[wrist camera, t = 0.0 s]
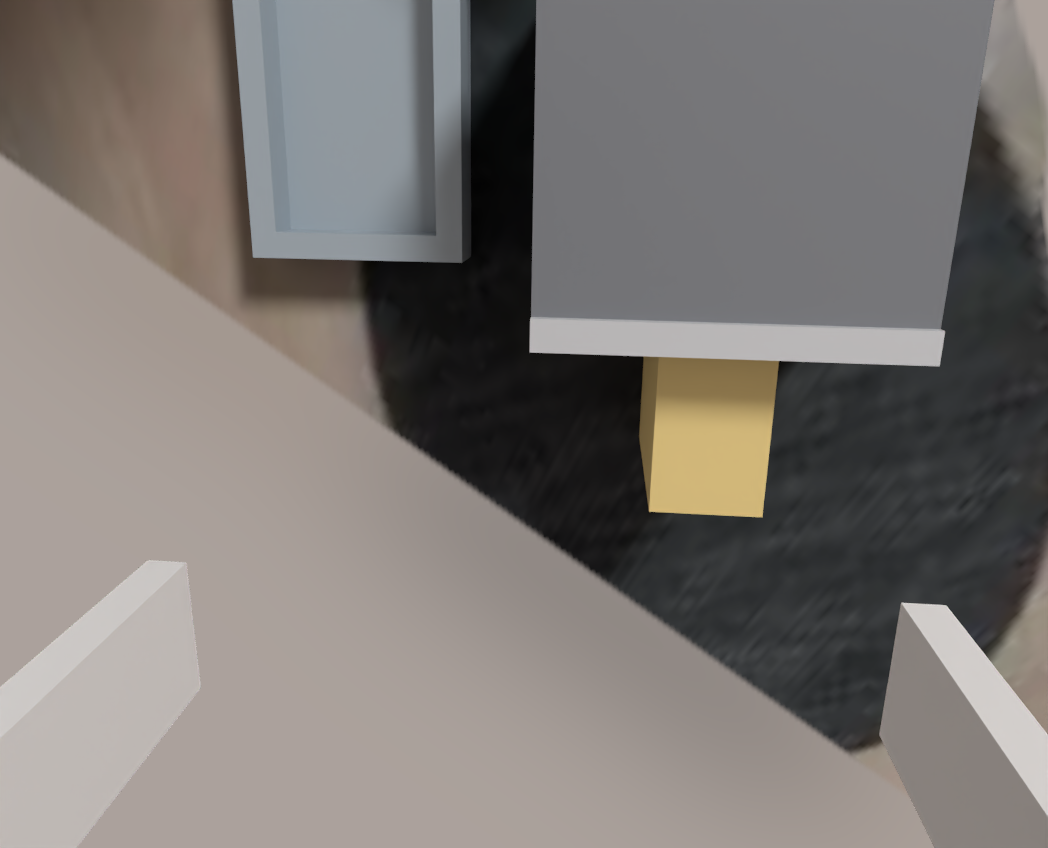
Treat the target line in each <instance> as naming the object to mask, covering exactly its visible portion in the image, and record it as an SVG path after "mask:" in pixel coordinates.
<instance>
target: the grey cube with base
mask: <svg viewBox="0 0 1048 848" xmlns="http://www.w3.org/2000/svg"><path fill="white" fill-rule="evenodd" d="M993 6H994V0H536V57H535V115H534V174H533V232H532V290H531V318H530V353H559V354H589V355H618V356H648V357H678V358H708V359H737V360H767V361H797V362H827V363H856V364H886V365H916V366H940V360H941V354H942V348H943V342H944V336H945V331H943V330H941V324H942V318H943V312H944V305H945V299H946V293H947V287H948V281H949V275H950V269H951V263H952V257H953V251H954V244H955V238H956V232H957V226H958V220H959V214H960V208H961V202H962V196H963V190H964V183H965V177H966V171H967V165H968V159H969V153H970V147H971V141H972V135H973V128H974V122H975V116H976V110H977V104H978V98H979V92H980V86H981V80H982V74H983V67H984V61H985V55H986V49H987V43H988V37H989V31H990V25H991V19H992V13H993Z"/></svg>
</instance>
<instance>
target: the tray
mask: <svg viewBox="0 0 1048 848" xmlns="http://www.w3.org/2000/svg"><path fill="white" fill-rule="evenodd" d="M232 2H233V15H234V27H235V40H236V52H237V65H238V77H239V89H240V102H241V114H242V127H243V139H244V152H245V164H246V177H247V189H248V201H249V214H250V226H251V239H252V251H253V258H289V259H329V260H369V261H409V262H450V263H463V262H464V261H466V260H467V259H469V258H470V257H471V72H470V0H232Z"/></svg>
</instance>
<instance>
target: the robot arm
mask: <svg viewBox="0 0 1048 848" xmlns="http://www.w3.org/2000/svg"><path fill="white" fill-rule="evenodd" d="M200 688H201V684H200V675H199V667H198V658H197V649H196V641H195V632H194V623H193V615H192V606H191V597H190V589H189V580H188V572H187V563H186V562H169V561H152V560H148V561H147V562H145V563H144V564H143V565H142V566H141V567H139V568H138V569H137V570H136V571H135V572H134V573H132V574H131V575H130V576H129V577H128V578H127V579H125V580H124V581H123V582H122V583H121V584H120V585H118V586H117V587H116V588H115V589H114V590H113V591H112V592H110V593H109V594H108V595H107V596H106V597H105V598H103V599H102V600H101V601H100V602H99V603H97V604H96V605H95V606H94V607H93V608H92V609H90V610H89V611H88V612H87V613H86V614H85V615H84V616H82V617H81V618H80V619H79V620H78V621H77V622H75V623H74V624H73V625H72V626H71V627H70V628H68V629H67V630H66V631H65V632H64V633H63V634H61V635H60V636H59V637H58V638H57V639H56V640H54V641H53V642H52V643H51V644H50V645H49V646H48V647H46V648H45V649H44V650H43V651H42V652H41V653H39V654H38V655H37V656H36V657H35V658H33V659H32V660H31V661H30V662H29V663H28V664H27V665H25V666H24V667H23V668H22V669H21V670H20V671H18V672H17V673H16V674H15V675H14V676H13V677H11V678H10V679H9V680H8V681H7V682H6V683H4V684H3V685H2V686H1V687H0V848H77V847H78V846H79V844H80V843H81V842H82V841H83V839H84V838H85V837H86V835H87V834H88V833H89V831H90V830H91V829H92V828H93V826H94V825H95V824H96V822H97V821H98V820H99V818H100V817H101V816H102V815H103V813H104V812H105V811H106V810H107V808H108V807H109V805H110V804H111V803H112V802H113V800H114V799H115V798H116V796H117V795H118V794H119V793H120V792H121V790H122V789H123V788H124V786H125V785H126V784H127V782H128V781H129V780H130V778H131V777H132V776H133V775H134V773H135V772H136V771H137V770H138V768H139V767H140V766H141V764H142V763H143V762H144V761H145V759H146V758H147V757H148V755H149V754H150V753H151V752H152V750H153V749H154V748H155V746H156V745H157V744H158V743H159V741H160V740H161V739H162V737H163V736H164V735H165V733H166V732H167V731H168V730H169V728H170V727H171V726H172V724H173V723H174V722H175V721H176V719H177V718H178V717H179V715H180V714H181V713H182V711H183V710H184V709H185V708H186V706H187V705H188V704H189V702H190V701H191V700H192V699H193V697H194V696H195V695H196V694H197V692H198V691H199V690H200ZM879 735H880V737H881V739H882V741H883V743H884V745H885V747H886V749H887V752H888V754H889V756H890V758H891V760H892V762H893V764H894V766H895V768H896V770H897V772H898V774H899V776H900V778H901V780H902V782H903V784H904V786H905V788H906V790H907V793H908V795H909V797H910V799H911V801H912V803H913V805H914V807H915V809H916V811H917V813H918V815H919V817H920V819H921V821H922V823H923V825H924V827H925V829H926V831H927V833H928V835H929V838H930V839H931V842H932V844H933V846H934V848H1048V734H1047V733H1046V732H1045V731H1044V729H1043V728H1042V727H1041V725H1040V724H1039V723H1038V722H1037V720H1036V719H1035V718H1034V716H1033V715H1032V714H1031V713H1030V711H1029V710H1028V709H1027V708H1026V706H1025V705H1024V704H1023V702H1022V701H1021V700H1020V699H1019V697H1018V696H1017V695H1016V694H1015V692H1014V691H1013V690H1012V688H1011V687H1010V686H1009V685H1008V683H1007V682H1006V681H1005V680H1004V678H1003V677H1002V676H1001V674H1000V673H999V672H998V671H997V669H996V668H995V667H994V666H993V664H992V663H991V662H990V660H989V659H988V658H987V657H986V655H985V654H984V653H983V652H982V650H981V649H980V648H979V646H978V645H977V644H976V643H975V641H974V640H973V639H972V638H971V636H970V635H969V634H968V632H967V631H966V630H965V629H964V627H963V626H962V625H961V624H960V622H959V621H958V620H957V618H956V617H955V616H954V615H953V613H952V612H951V611H950V610H949V608H948V607H947V606H946V605H931V604H913V603H901V607H900V613H899V619H898V625H897V631H896V637H895V643H894V649H893V655H892V661H891V668H890V674H889V680H888V686H887V692H886V698H885V704H884V710H883V716H882V722H881V728H880V734H879Z"/></svg>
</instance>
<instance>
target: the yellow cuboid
mask: <svg viewBox="0 0 1048 848" xmlns="http://www.w3.org/2000/svg"><path fill="white" fill-rule="evenodd" d="M778 365H779V361H767V360H737V359H708V358H678V357H648V356H644V361H643V378H642V395H641V412H640V429H639V440H640V447H641V455H642V462H643V470H644V478H645V485H646V493H647V500H648V508H649V512H665V513H685V514H706V515H726V516H747V517H762V515H763V506H764V496H765V487H766V478H767V468H768V459H769V449H770V440H771V431H772V421H773V412H774V403H775V393H776V384H777V375H778Z"/></svg>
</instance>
